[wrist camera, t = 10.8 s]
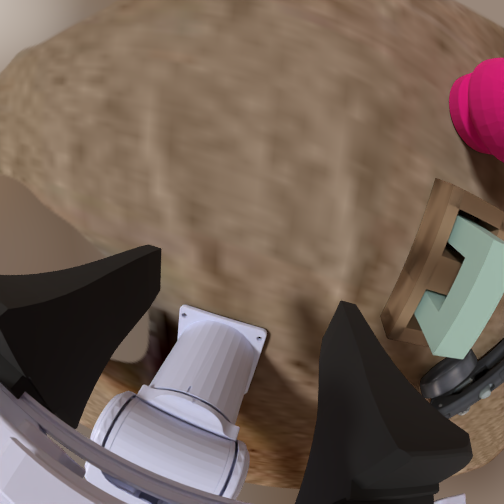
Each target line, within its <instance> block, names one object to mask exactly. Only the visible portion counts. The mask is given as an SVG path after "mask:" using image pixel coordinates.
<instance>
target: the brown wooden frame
mask: <svg viewBox="0 0 504 504" xmlns="http://www.w3.org/2000/svg"><path fill="white" fill-rule="evenodd" d="M459 209H461V210H463V211H465V212H467V213H469V214H471V215H473V216H475V217H477V218H479V219H480V220H479V222H478V224H479V225H480V226H482V227H483V228H485V229H486V230H488V231H489V232H491V233H492V234H494V235H495V236H497V237H498V238H500V239H501V240H503V241H504V212H503V211H502V210H500V209H498V208H496V207H495V206H493V205H491V204H489V203H488V202H486V201H484V200H482V199H481V198H479V197H477V196H475V195H473V194H471V193H469V192H467V191H465V190H463V189H461V188H459V187H457V186H455V185H453V184H451V183H448V182H445V181H442V180H440V179H437V178H435V182H434V185H433V188H432V192H431V195H430V198H429V201H428V204H427V207H426V210H425V213H424V216H423V219H422V222H421V224H420V227H419V230H418V233H417V235H416V238H415V240H414V243H413V246H412V248H411V251H410V253H409V255H408V258H407V260H406V263H405V265H404V267H403V270H402V272H401V274H400V276H399V279H398V281H397V283H396V285H395V287H394V289H393V291H392V294H391V296H390V298H389V300H388V302H387V304H386V306H385V308H384V310H383V312H382V314H381V316H380V317H381V320H382V323H383V326H384V330H385V333H386V336H387V338H388V339H392V340H397V341H402V342H407V343H412V344H417V345H422V346H428V347H429V345H428V342H427V340H426V338H425V336H424V334H423V331H422V329H421V327H420V325H419V323H418V321H417V319H416V317H415V314H414V312H415V310H416V308H417V306H418V304H419V302H420V300H421V298H422V296H423V294H424V292H425V290H426V289H428V290H431V291H434V292H438V293H441V294H445V295H448V293H449V291H450V289H451V287H452V285H453V283H454V281H455V279H456V277H457V275H458V273H459V271H460V268H461V266H462V264H463V262H464V259H465V257H464V256H463V255H462V254H460V253H458V252H455V251H453V250H450V249H447V248H445V246H446V244H447V241H448V239H449V236H450V233H451V231H452V228H453V225H454V223H455V220H456V217H457V214H458V211H459Z"/></svg>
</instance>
